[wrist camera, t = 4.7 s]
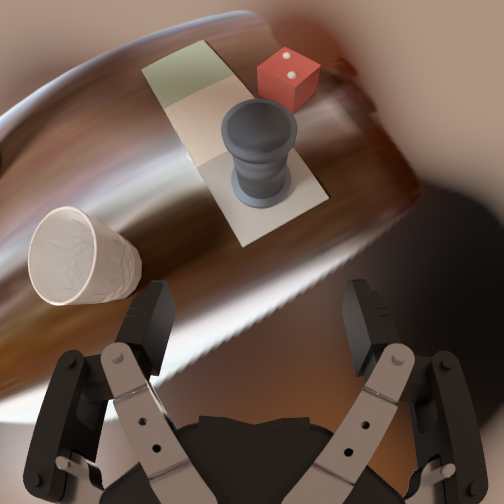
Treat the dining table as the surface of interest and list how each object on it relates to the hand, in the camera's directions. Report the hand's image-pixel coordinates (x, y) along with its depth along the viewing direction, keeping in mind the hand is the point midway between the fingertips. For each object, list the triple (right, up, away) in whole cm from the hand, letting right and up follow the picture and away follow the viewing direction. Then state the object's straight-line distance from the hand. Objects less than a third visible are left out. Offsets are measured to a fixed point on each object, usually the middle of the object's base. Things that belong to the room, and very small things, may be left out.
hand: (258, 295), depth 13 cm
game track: (-4, +18, +18) cm, 26 cm away
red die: (+4, +21, +19) cm, 29 cm away
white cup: (-15, 0, +16) cm, 22 cm away
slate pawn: (+1, +9, +16) cm, 19 cm away
